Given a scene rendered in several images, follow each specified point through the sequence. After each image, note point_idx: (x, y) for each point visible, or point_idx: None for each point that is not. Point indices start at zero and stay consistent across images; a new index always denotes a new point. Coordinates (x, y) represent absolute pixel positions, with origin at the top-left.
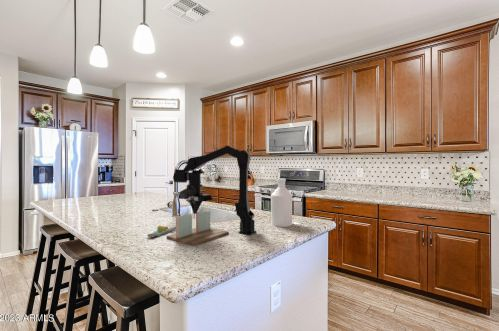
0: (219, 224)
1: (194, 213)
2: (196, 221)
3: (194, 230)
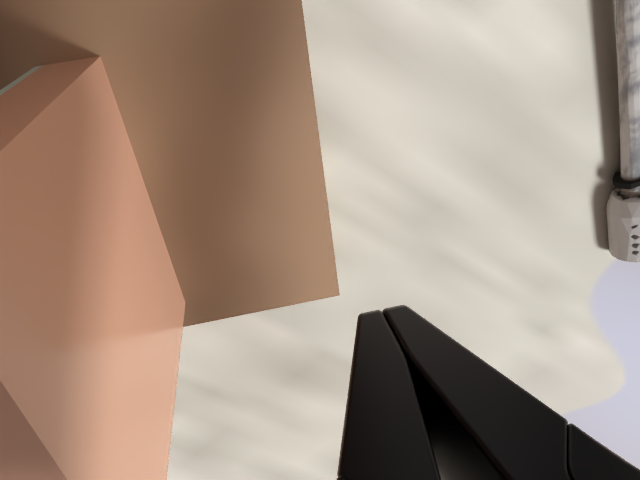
0: (333, 469)
1: (372, 315)
2: (19, 115)
3: (188, 75)
